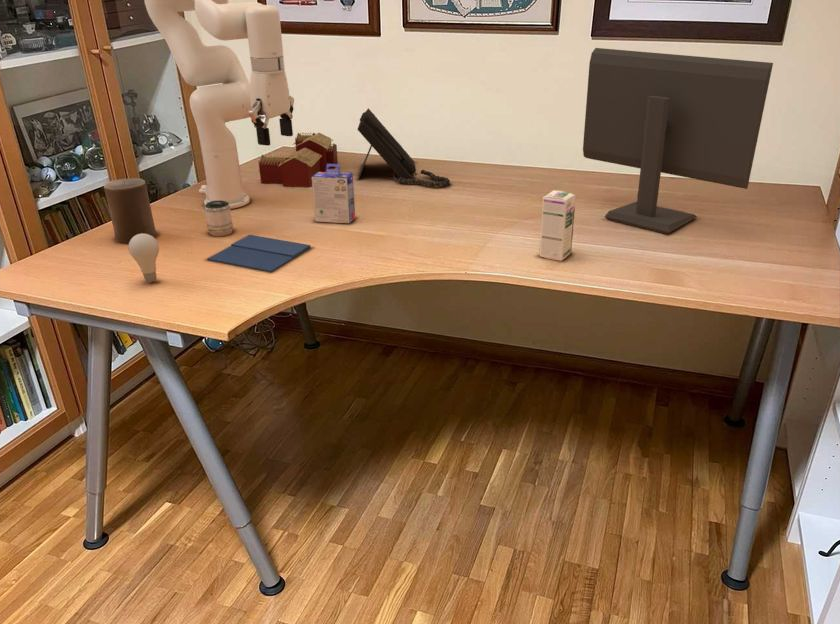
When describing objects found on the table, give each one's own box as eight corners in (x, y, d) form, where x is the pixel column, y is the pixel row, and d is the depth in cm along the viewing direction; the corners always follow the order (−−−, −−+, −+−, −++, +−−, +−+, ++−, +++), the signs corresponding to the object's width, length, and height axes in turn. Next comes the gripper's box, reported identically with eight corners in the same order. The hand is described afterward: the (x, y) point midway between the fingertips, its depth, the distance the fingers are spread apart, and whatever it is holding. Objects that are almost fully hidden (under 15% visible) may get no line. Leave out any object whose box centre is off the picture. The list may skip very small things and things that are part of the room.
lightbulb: (140, 277, 157) (129, 230, 152) (168, 275, 157) (159, 228, 152) (133, 288, 152) (122, 240, 146) (162, 287, 152) (152, 238, 147)
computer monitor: (746, 230, 178) (785, 59, 158) (719, 248, 167) (757, 67, 148) (593, 195, 204) (610, 44, 184) (562, 209, 193) (576, 51, 174)
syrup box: (562, 261, 161) (567, 199, 154) (538, 256, 164) (542, 195, 157) (571, 253, 166) (577, 192, 159) (547, 248, 168) (552, 189, 161)
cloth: (207, 260, 165) (207, 256, 165) (249, 237, 178) (249, 234, 177) (271, 272, 158) (270, 269, 158) (310, 248, 171) (310, 245, 171)
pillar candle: (141, 245, 174) (127, 185, 167) (107, 241, 177) (93, 182, 169) (164, 231, 182) (152, 174, 175) (132, 228, 185) (119, 171, 177)
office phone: (450, 188, 211) (450, 118, 201) (355, 189, 212) (351, 119, 202) (448, 162, 237) (448, 99, 227) (363, 163, 237) (360, 100, 227)
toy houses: (318, 187, 214) (315, 153, 209) (253, 185, 217) (248, 152, 212) (350, 150, 253) (348, 120, 248) (294, 149, 255) (291, 120, 250)
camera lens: (211, 228, 184) (206, 199, 180) (235, 227, 184) (231, 198, 180) (206, 237, 178) (201, 207, 174) (231, 236, 179) (226, 206, 175)
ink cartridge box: (356, 217, 190) (353, 163, 183) (350, 224, 185) (347, 169, 178) (321, 215, 192) (316, 161, 185) (314, 222, 187) (309, 167, 180)
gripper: (275, 59, 171) (282, 131, 180) (231, 69, 158) (241, 147, 166) (301, 60, 169) (307, 133, 177) (259, 71, 155) (268, 150, 164)
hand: (275, 140), depth 172 cm, fingers open, 9 cm apart
